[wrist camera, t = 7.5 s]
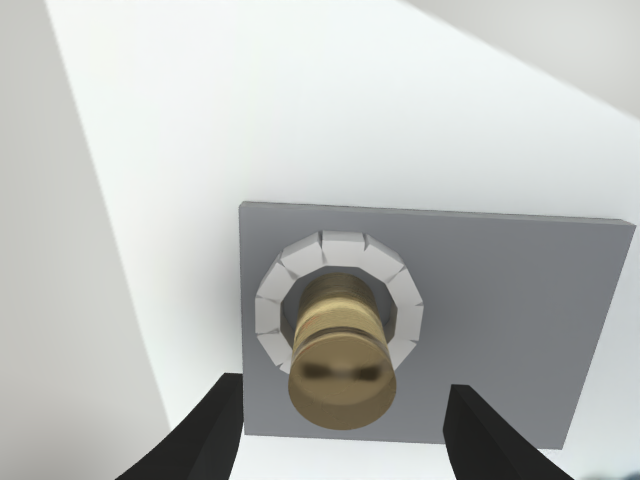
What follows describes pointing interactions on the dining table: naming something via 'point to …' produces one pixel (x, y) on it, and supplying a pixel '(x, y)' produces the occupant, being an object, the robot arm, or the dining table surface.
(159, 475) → the robot arm
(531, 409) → the housing plate
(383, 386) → the brass shaft
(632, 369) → the dining table surface
